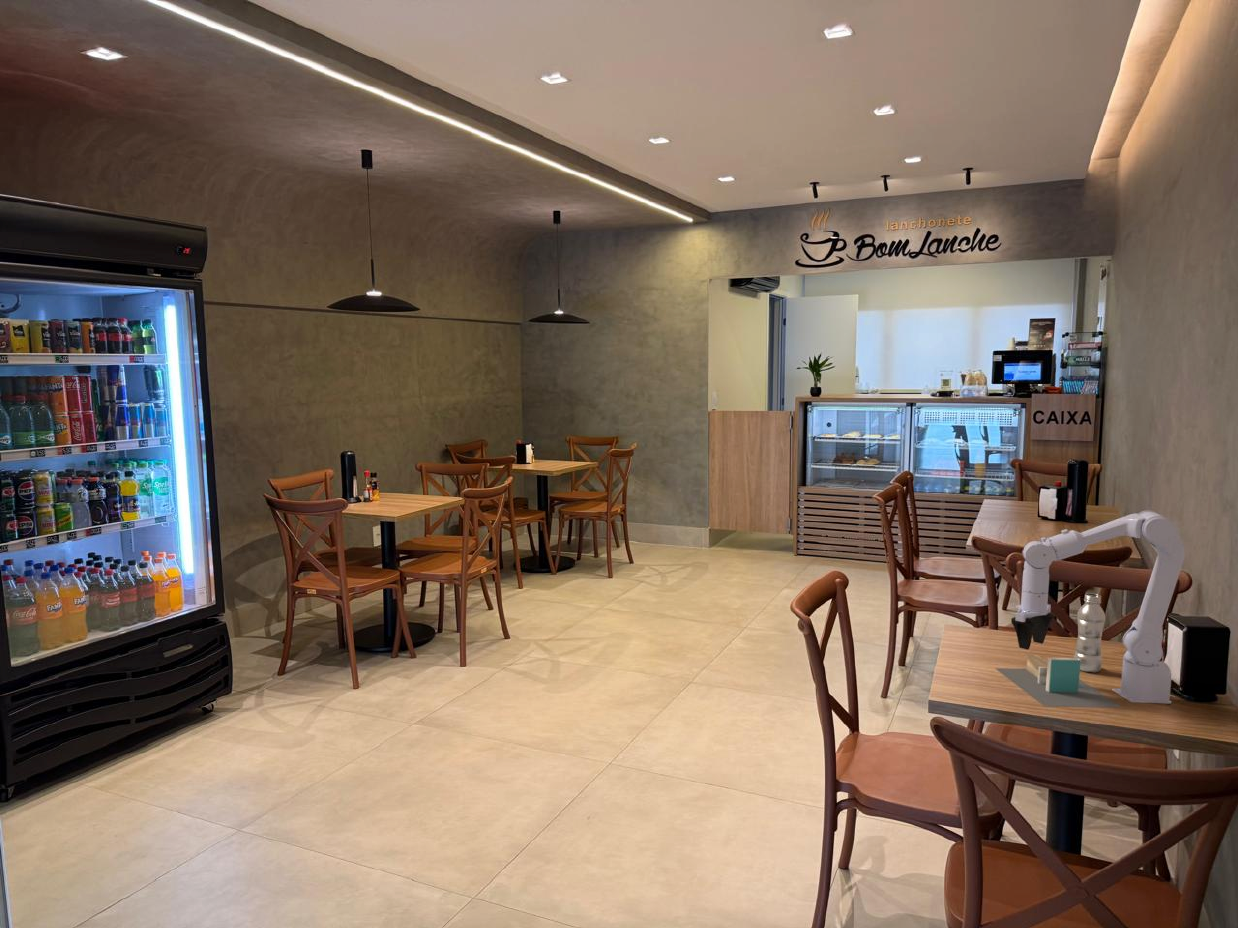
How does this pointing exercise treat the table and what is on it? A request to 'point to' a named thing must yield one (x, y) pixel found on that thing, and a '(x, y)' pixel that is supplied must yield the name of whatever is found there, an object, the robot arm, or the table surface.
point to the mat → (1062, 699)
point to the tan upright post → (1037, 667)
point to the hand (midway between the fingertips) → (1031, 645)
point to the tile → (1063, 675)
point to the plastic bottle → (1090, 633)
